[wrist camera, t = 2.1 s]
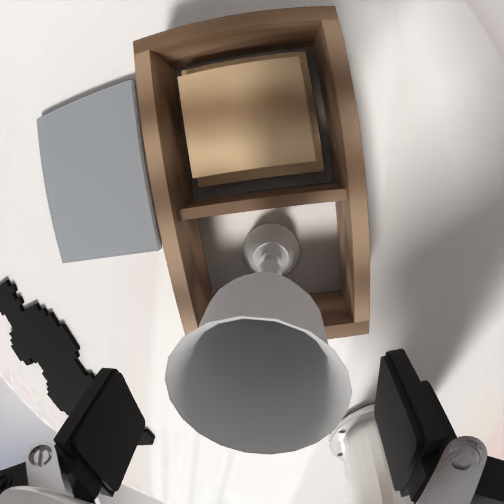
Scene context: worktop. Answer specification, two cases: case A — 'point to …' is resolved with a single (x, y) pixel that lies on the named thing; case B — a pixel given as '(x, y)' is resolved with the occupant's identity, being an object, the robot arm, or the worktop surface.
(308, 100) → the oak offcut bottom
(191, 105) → the oak offcut top
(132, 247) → the slate mat
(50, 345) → the black silhouette cutout
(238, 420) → the chalice
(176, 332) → the worktop surface
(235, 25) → the walnut crate
